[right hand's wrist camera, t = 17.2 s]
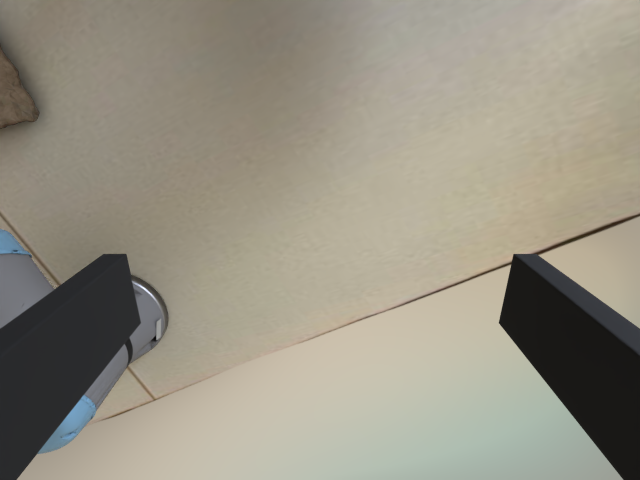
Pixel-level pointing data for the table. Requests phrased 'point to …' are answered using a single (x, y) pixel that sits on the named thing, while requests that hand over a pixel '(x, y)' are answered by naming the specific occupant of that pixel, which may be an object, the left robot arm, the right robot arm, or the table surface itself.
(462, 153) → the table surface
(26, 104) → the stone
